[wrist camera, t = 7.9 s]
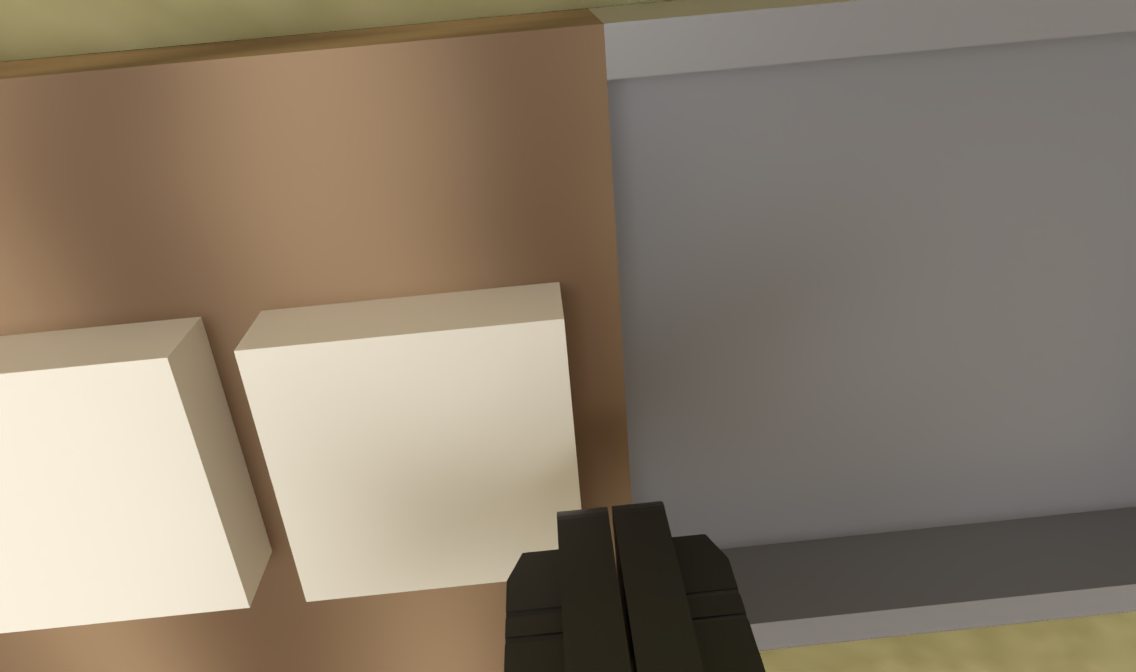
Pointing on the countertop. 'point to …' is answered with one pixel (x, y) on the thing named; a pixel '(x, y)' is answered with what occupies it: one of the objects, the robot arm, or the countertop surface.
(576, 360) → the wooden switch plate
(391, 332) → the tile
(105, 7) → the countertop surface
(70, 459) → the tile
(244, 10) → the countertop surface
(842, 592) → the bin
